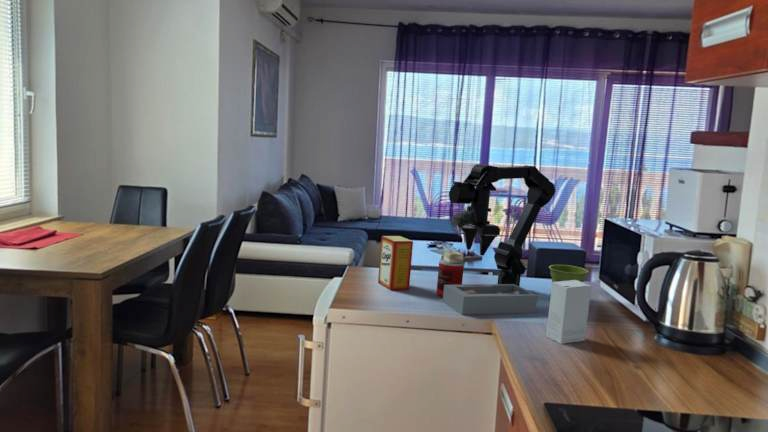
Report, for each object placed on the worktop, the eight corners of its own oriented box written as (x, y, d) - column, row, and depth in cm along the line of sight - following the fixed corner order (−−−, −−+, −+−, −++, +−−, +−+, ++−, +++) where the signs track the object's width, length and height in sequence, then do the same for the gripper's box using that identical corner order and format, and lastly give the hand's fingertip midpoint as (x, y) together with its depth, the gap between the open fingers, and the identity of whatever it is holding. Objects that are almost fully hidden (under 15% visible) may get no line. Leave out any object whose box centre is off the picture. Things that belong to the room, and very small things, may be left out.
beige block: (456, 259, 191) (457, 251, 191) (462, 262, 187) (463, 254, 187) (443, 259, 190) (444, 251, 189) (449, 262, 186) (449, 254, 186)
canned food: (460, 293, 193) (463, 259, 192) (461, 300, 185) (464, 265, 184) (436, 291, 194) (439, 257, 193) (436, 297, 186) (439, 262, 185)
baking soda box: (378, 282, 199) (381, 234, 197) (395, 282, 202) (399, 234, 200) (390, 290, 191) (394, 240, 189) (408, 289, 193) (413, 240, 191)
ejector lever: (515, 294, 184) (515, 283, 184) (521, 297, 181) (521, 286, 181) (461, 302, 178) (460, 291, 178) (466, 305, 176) (465, 294, 175)
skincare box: (569, 334, 159) (576, 279, 158) (586, 342, 154) (593, 285, 152) (544, 336, 156) (550, 280, 154) (560, 344, 150) (567, 286, 148)
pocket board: (512, 300, 190) (514, 284, 189) (535, 312, 178) (537, 295, 177) (442, 301, 182) (444, 284, 181) (462, 314, 170) (463, 296, 169)
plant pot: (548, 296, 199) (552, 262, 198) (586, 303, 194) (590, 268, 193) (541, 304, 188) (545, 268, 187) (581, 311, 183) (585, 274, 182)
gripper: (444, 199, 199) (440, 246, 201) (470, 207, 182) (465, 258, 184) (474, 200, 203) (470, 246, 205) (503, 208, 185) (498, 258, 187)
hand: (475, 252), depth 195 cm, fingers open, 9 cm apart
